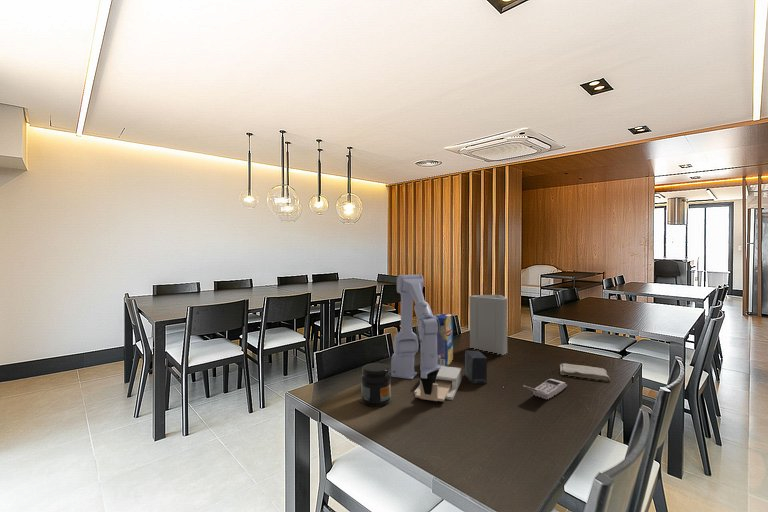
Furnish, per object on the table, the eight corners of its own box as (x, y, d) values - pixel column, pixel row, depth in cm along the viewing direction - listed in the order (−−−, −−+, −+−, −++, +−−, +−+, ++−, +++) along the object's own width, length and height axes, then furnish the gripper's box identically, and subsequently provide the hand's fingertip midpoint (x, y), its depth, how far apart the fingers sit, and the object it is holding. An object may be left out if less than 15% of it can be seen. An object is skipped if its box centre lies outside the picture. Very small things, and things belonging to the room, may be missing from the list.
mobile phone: (521, 385, 124) (553, 368, 141) (521, 401, 125) (553, 383, 141) (539, 390, 120) (569, 372, 136) (538, 407, 120) (569, 387, 137)
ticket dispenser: (414, 394, 131) (414, 380, 131) (427, 376, 150) (427, 364, 150) (452, 400, 126) (452, 385, 126) (461, 380, 145) (461, 368, 144)
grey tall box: (515, 349, 189) (515, 296, 188) (503, 355, 178) (503, 299, 178) (482, 343, 202) (482, 293, 201) (469, 348, 191) (469, 296, 191)
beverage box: (453, 360, 171) (452, 314, 170) (446, 367, 161) (445, 318, 161) (439, 358, 174) (439, 313, 174) (431, 365, 164) (431, 317, 164)
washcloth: (559, 368, 160) (559, 361, 160) (606, 373, 152) (606, 366, 152) (559, 376, 149) (559, 369, 149) (610, 383, 142) (610, 375, 142)
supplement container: (397, 400, 126) (396, 366, 125) (375, 410, 118) (375, 374, 118) (376, 392, 133) (376, 360, 133) (354, 401, 126) (354, 367, 125)
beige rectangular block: (414, 397, 125) (414, 381, 125) (426, 381, 140) (426, 367, 140) (443, 402, 121) (443, 385, 121) (452, 384, 136) (452, 370, 136)
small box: (488, 383, 141) (487, 357, 141) (471, 384, 140) (471, 357, 140) (479, 374, 151) (479, 349, 151) (464, 375, 151) (464, 350, 151)
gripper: (435, 360, 115) (435, 402, 115) (444, 348, 128) (444, 386, 129) (414, 358, 117) (414, 399, 118) (425, 346, 131) (425, 383, 131)
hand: (429, 392), depth 123 cm, fingers open, 3 cm apart
